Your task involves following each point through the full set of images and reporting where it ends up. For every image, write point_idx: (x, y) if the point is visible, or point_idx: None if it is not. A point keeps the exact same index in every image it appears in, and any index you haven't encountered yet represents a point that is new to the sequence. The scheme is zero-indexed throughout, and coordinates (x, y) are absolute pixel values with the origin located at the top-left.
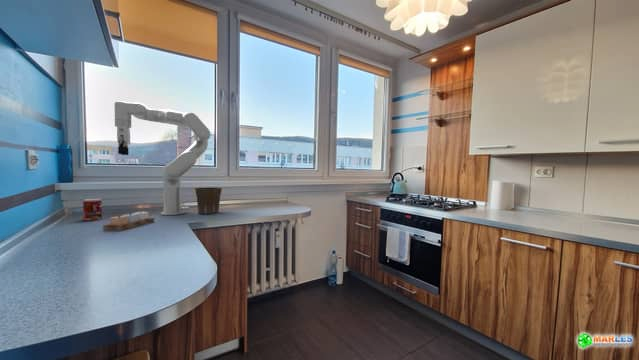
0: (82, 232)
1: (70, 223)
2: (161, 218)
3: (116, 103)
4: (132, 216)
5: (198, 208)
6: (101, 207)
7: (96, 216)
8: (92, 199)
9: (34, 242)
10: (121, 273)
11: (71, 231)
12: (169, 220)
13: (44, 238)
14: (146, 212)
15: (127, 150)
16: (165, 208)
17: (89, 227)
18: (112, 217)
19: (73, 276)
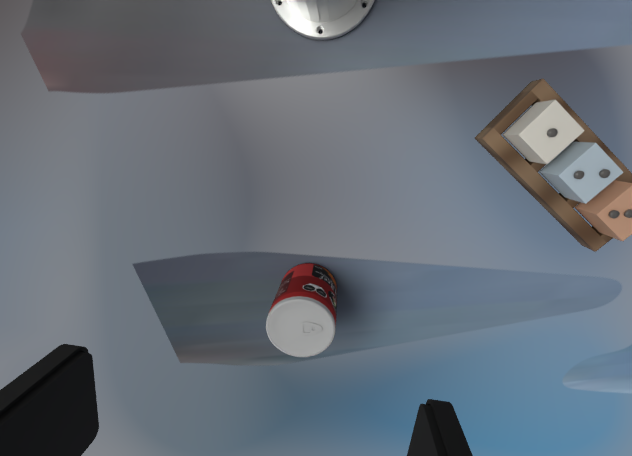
0: (567, 293)
1: (363, 335)
2: (448, 44)
3: None
4: (613, 165)
5: None
6: (310, 281)
7: (333, 281)
8: (276, 329)
9: (627, 372)
10: None
11: (524, 319)
12: (534, 10)
13: (587, 361)
14: (563, 108)
15: (1, 435)
16: (345, 5)
17: (485, 283)
18: (623, 233)
19: None
